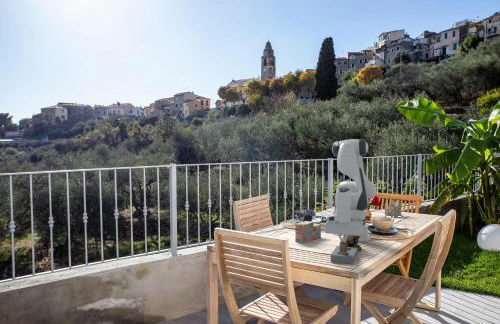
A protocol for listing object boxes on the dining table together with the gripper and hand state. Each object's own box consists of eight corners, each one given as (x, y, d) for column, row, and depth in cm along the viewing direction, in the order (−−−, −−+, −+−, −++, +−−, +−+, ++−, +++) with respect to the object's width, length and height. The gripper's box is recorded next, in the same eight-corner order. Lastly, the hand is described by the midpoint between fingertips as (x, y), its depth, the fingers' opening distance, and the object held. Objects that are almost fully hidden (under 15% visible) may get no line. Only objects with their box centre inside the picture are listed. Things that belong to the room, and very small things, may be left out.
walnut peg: (339, 259, 221) (339, 241, 221) (347, 260, 220) (347, 242, 219) (338, 261, 217) (338, 243, 217) (346, 262, 216) (346, 244, 215)
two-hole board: (336, 252, 235) (336, 245, 235) (357, 254, 230) (357, 247, 230) (330, 262, 216) (330, 254, 216) (353, 264, 212) (353, 257, 212)
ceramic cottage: (398, 214, 359) (397, 197, 357) (404, 218, 342) (403, 201, 341) (380, 215, 360) (380, 199, 358) (386, 219, 343) (385, 202, 342)
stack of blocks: (313, 236, 277) (313, 218, 276) (321, 237, 273) (321, 220, 272) (295, 242, 261) (295, 223, 261) (303, 243, 257) (303, 224, 256)
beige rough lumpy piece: (346, 245, 252) (347, 218, 252) (365, 248, 246) (365, 220, 245) (336, 251, 237) (336, 223, 237) (355, 254, 231) (356, 225, 230)
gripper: (363, 217, 217) (363, 242, 217) (326, 215, 224) (326, 239, 225) (362, 219, 211) (362, 245, 211) (323, 217, 218) (323, 242, 219)
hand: (343, 242), depth 218 cm, fingers closed
